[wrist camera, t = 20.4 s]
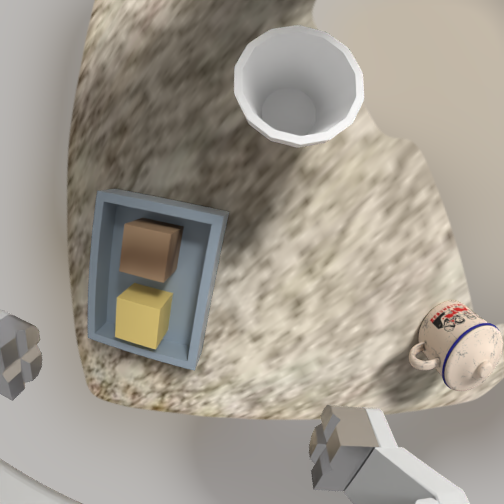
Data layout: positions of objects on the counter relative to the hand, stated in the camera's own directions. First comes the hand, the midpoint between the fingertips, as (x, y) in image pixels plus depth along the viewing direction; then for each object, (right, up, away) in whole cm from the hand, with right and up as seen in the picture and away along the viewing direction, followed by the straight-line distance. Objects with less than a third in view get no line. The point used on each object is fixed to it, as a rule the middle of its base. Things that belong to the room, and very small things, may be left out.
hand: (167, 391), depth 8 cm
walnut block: (-8, +5, +28) cm, 30 cm away
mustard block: (-10, -3, +30) cm, 32 cm away
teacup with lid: (+27, -7, +31) cm, 41 cm away
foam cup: (+6, +19, +26) cm, 32 cm away
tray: (-9, +1, +30) cm, 31 cm away
